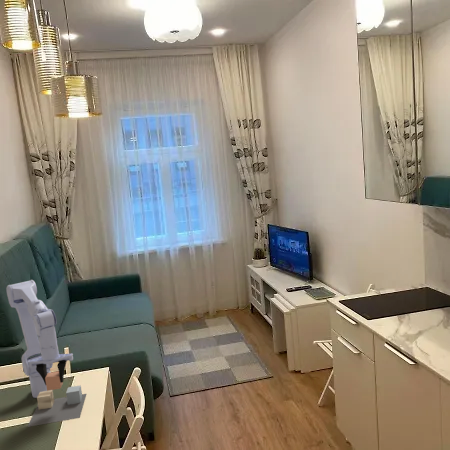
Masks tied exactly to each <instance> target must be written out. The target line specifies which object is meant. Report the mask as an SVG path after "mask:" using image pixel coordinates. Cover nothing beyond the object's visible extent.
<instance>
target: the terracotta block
mask: <svg viewBox="0 0 450 450" xmlns="http://www.w3.org/2000/svg"><path fill="white" fill-rule="evenodd" d="M50 372H51V373H48V374H47V376H46V378H45V380H46V387H47V391H48V390H53V391H54V390H59V389H60V390H61V388H62V386H63V384H64V381H63V382H62V383H61V382H60V375H59V370H57V371H53V372H52V371H50Z"/></svg>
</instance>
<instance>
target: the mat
mask: <svg viewBox="0 0 450 450" xmlns="http://www.w3.org/2000/svg"><path fill="white" fill-rule="evenodd" d="M86 397H87V393H82V400H81V403H76V404H70V405H68V403H67V396H65V397H58V398H54V404H53V406H52V408H46V409H40V410H39V407H38V405H37V406H36V408H35V410H34V412H33V414H32V417H31V418H30V420H29V422H28V424H27V427H30V428H31V427H34V426H40V425H45V424H46V425H47V424H50V423H51V424H52V423H57V422H63V421H69V420H76V419H80V418H81V415H82V411H83V409H84V408H83V407H84V404H85V402H86V401H85V400H86ZM27 427H26V428H27Z"/></svg>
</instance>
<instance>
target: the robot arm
mask: <svg viewBox="0 0 450 450" xmlns="http://www.w3.org/2000/svg"><path fill="white" fill-rule="evenodd" d="M37 294H38V288H37V284H36V282H35V280H33V279H30V280H27V281H22V282H18V283H13V284H8V285H7V286H6V296H7V300H8V304H9V305H10V307H11V308H13V309H14V308H15V310H16V312H17V315H18V319H19V322H20V327H21V331H22V334H23V337H24V342H25V345H26V350H25V352H24V353H23V354H22V355H21V362H22V363H21V365H22V369H23V372H24V375H26V376H28V378H29V383H30V389H31V394H32V395H31V397H33V398H34V399H35V398H36V399H37V397H38V395H39V393H40V392H43V391H47V387H46V380H45V378H46V376H47V374H48V373H51V372H52V371H51V369H52V368H53V365H54V364H55V363H57V371H59V375H60V382H61V383H62V382H63V383H64V375H65V369H66V364H67V362H68V361H70V362H71V361H74V356H73V355H74V354H73V353H60V352H59V346H58V338H57V332H56V326H57V316H56V313H55V312H54V309H50V308H48V307H47V305H46V304H45V303H44V302H43V300H41V299H38V297H37ZM48 391H49V390H48Z"/></svg>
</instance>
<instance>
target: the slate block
mask: <svg viewBox="0 0 450 450" xmlns="http://www.w3.org/2000/svg"><path fill="white" fill-rule="evenodd" d="M82 394H83V391H82V386H81V384H80V385H74V386H69V387H67V390H66V392H65V397H67V403H68V405H70V404H76V403H81V400H82Z"/></svg>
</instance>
